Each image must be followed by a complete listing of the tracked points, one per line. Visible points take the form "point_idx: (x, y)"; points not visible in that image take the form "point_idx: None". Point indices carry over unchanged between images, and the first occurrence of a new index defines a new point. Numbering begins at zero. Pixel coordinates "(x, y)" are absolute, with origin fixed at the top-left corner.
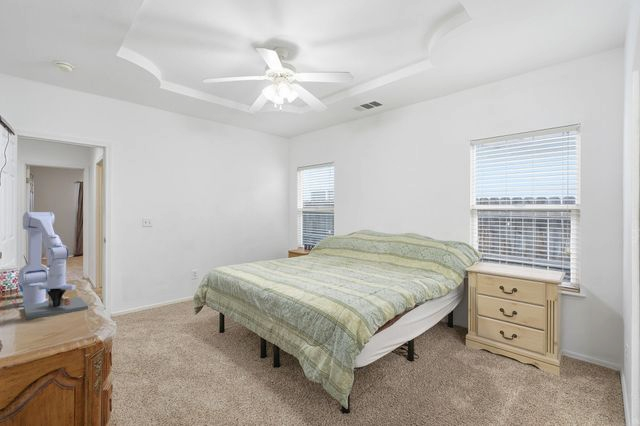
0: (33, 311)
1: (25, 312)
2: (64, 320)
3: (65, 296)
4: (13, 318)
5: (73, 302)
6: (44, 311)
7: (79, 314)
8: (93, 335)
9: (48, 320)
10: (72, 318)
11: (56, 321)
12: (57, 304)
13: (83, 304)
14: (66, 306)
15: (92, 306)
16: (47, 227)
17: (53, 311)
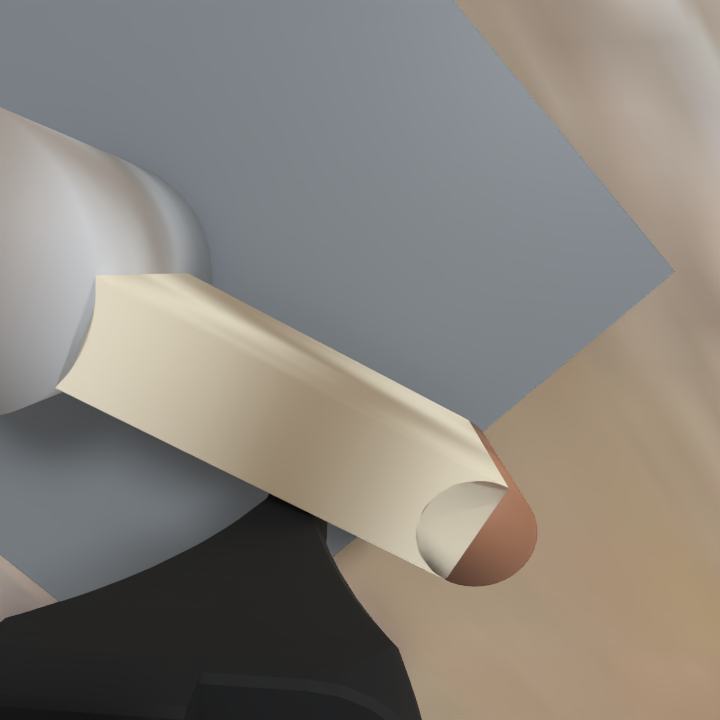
0: (72, 531)
1: (15, 566)
2: (604, 673)
3: (312, 399)
4: (7, 597)
5: (264, 54)
6: (214, 534)
7: (652, 495)
8: None
9: (431, 665)
10: (654, 622)
11: (539, 695)
12: (324, 530)
13: (545, 191)
14: (334, 314)
15: (630, 120)
16: None
17: (335, 539)
